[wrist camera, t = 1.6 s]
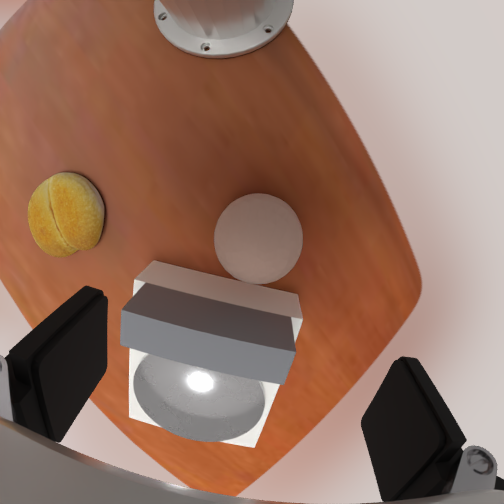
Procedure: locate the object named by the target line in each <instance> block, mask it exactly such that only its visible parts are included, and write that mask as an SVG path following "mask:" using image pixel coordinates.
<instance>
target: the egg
mask: <svg viewBox="0 0 504 504" xmlns="http://www.w3.org/2000/svg"><path fill="white" fill-rule="evenodd" d="M214 245H215V251H216V254H217V256H218V259H219V261H220V263H221V264H222V266H223V267H224V269H225V270H226V271H227V272H229V273H230V274H231V275H232V276H233V277H234V278H237V279H239V280H241V281H243V282H246V283H250V284H266V283H270V282H274V281H277V280H278V279H280V278H282V277H283V276H285V275H286V274H287V273H288V272H289V271H290V270H291V269H292V268H293V267H294V266H295V264H296V262H297V260H298V258H299V257H300V253H301V250H302V246H303V232H302V228H301V224H300V222H299V219H298V217H297V215H296V213H295V212H294V211H293V210H292V208H291V207H290V206H289V205H288V204H287V203H286V202H284V201H283V200H281V199H279V198H277V197H274V196H272V195H269V194H261V193H255V194H249V195H245V196H243V197H241V198H238V199H236V200H235V201H233V202H232V203H230V204H229V205H228V206H227V208H226V209H225V210H224V211H223V212H222V214H221V216H220V217H219V219H218V222H217V225H216V228H215V231H214Z"/></svg>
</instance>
